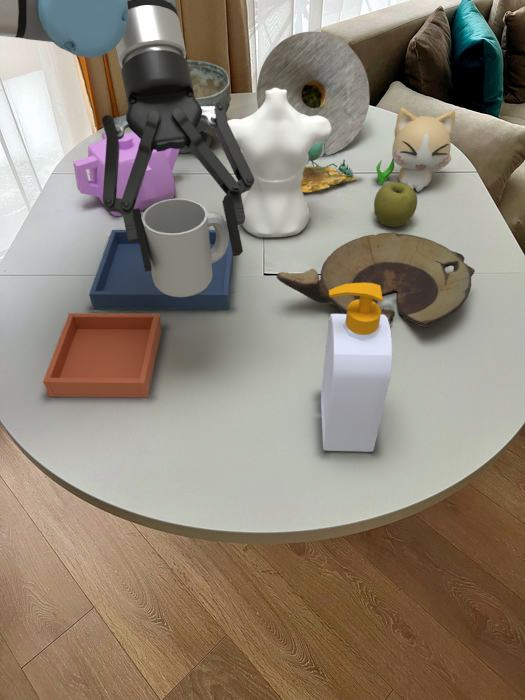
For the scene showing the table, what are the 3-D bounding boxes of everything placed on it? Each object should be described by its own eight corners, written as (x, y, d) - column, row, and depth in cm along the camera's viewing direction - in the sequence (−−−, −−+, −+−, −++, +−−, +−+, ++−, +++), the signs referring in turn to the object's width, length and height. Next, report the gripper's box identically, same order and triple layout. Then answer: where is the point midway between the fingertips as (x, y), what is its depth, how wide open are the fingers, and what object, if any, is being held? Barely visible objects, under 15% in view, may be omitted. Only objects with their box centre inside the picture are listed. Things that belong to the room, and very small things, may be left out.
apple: (379, 236, 103) (385, 202, 97) (365, 213, 108) (370, 179, 103) (418, 231, 104) (426, 197, 98) (402, 208, 109) (409, 174, 104)
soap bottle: (314, 396, 77) (327, 260, 60) (366, 397, 76) (393, 261, 60) (317, 452, 70) (331, 317, 54) (373, 453, 70) (405, 318, 54)
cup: (144, 272, 69) (132, 209, 63) (217, 248, 73) (212, 186, 66) (167, 306, 65) (156, 242, 59) (243, 279, 68) (241, 215, 62)
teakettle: (78, 213, 109) (61, 153, 100) (112, 170, 120) (99, 113, 111) (161, 223, 106) (152, 162, 97) (188, 178, 118) (182, 120, 109)
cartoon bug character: (357, 198, 112) (357, 126, 101) (268, 202, 115) (259, 132, 104) (358, 174, 118) (358, 103, 108) (273, 178, 121) (265, 109, 111)
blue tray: (93, 308, 89) (88, 294, 87) (115, 243, 102) (111, 229, 99) (228, 309, 89) (227, 294, 87) (234, 244, 101) (233, 229, 99)
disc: (364, 158, 138) (342, 55, 135) (385, 137, 120) (360, 18, 118) (265, 181, 136) (241, 77, 134) (272, 163, 119) (244, 44, 116)
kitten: (374, 194, 113) (385, 120, 102) (374, 169, 120) (384, 98, 109) (450, 199, 111) (470, 124, 100) (446, 174, 118) (463, 101, 107)
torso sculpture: (318, 208, 109) (328, 73, 91) (326, 237, 102) (338, 98, 84) (225, 213, 108) (216, 77, 90) (227, 242, 102) (218, 103, 84)
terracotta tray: (49, 396, 77) (42, 382, 75) (73, 328, 86) (68, 313, 84) (147, 397, 77) (144, 382, 75) (162, 328, 86) (159, 313, 84)
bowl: (214, 170, 120) (209, 98, 109) (133, 156, 124) (121, 86, 114) (246, 130, 133) (244, 63, 122) (171, 119, 137) (163, 54, 127)
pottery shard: (474, 354, 82) (489, 315, 76) (271, 332, 85) (271, 293, 80) (462, 261, 97) (473, 223, 92) (289, 246, 101) (291, 208, 95)
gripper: (245, 70, 69) (280, 251, 69) (57, 91, 64) (97, 282, 65) (255, 36, 61) (295, 239, 62) (44, 57, 57) (89, 274, 58)
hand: (193, 261), depth 64 cm, fingers closed on cup, 10 cm apart
